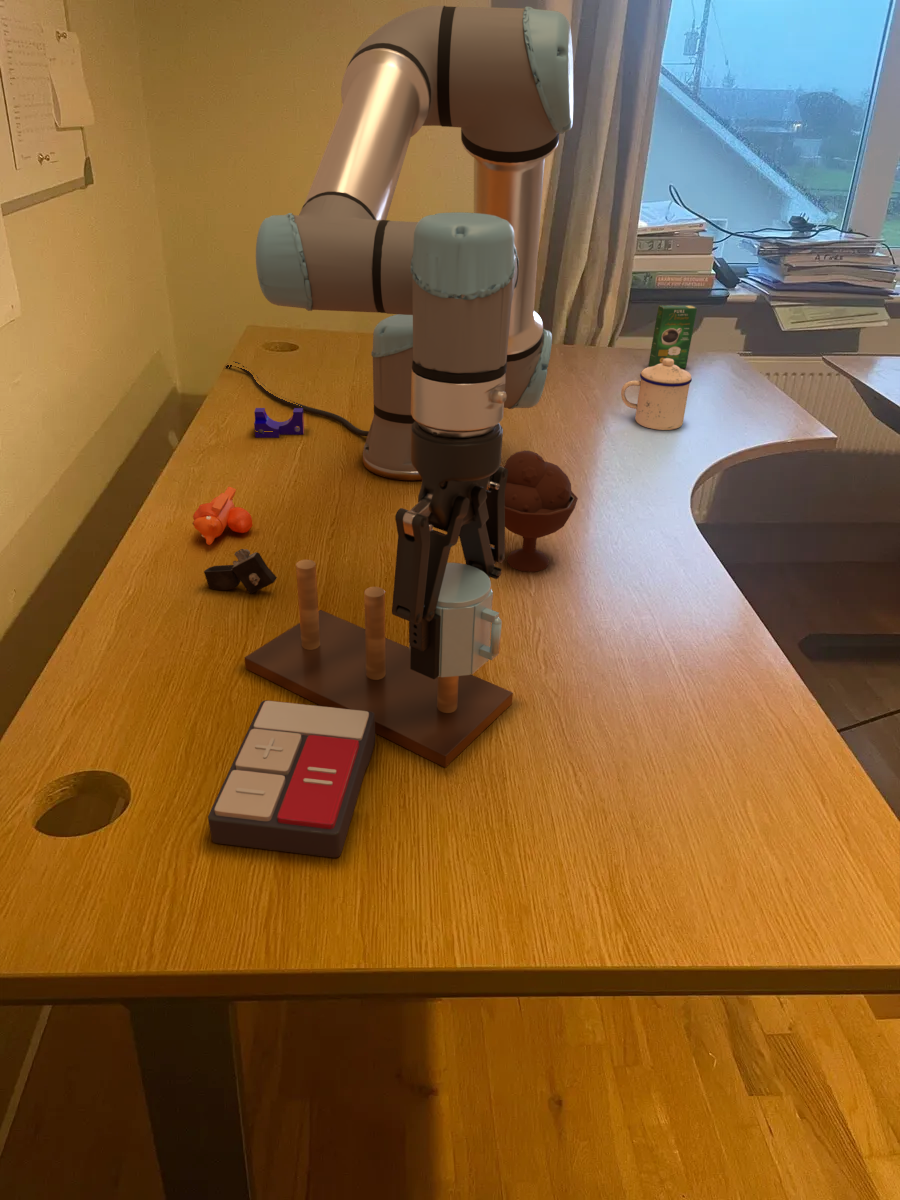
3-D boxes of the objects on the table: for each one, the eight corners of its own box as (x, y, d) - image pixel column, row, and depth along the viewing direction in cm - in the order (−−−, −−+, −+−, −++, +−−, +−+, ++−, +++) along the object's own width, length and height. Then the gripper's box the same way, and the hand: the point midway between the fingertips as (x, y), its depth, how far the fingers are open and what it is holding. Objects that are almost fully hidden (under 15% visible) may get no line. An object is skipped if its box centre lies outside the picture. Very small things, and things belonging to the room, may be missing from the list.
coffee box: (681, 365, 195) (692, 303, 188) (687, 369, 193) (698, 306, 186) (647, 366, 193) (656, 304, 186) (653, 370, 191) (662, 307, 184)
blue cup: (395, 658, 84) (395, 585, 79) (439, 625, 89) (441, 554, 85) (475, 693, 79) (480, 618, 75) (517, 656, 84) (523, 584, 80)
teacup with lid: (682, 416, 167) (692, 354, 161) (685, 433, 159) (696, 368, 153) (617, 410, 168) (625, 349, 162) (617, 427, 160) (626, 363, 154)
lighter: (221, 609, 109) (195, 576, 107) (228, 601, 111) (202, 568, 109) (271, 585, 106) (245, 550, 104) (277, 577, 107) (252, 542, 105)
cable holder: (255, 437, 151) (253, 415, 149) (257, 430, 154) (255, 407, 152) (302, 437, 152) (301, 415, 150) (304, 430, 155) (302, 408, 153)
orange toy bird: (215, 473, 124) (188, 511, 113) (267, 492, 125) (245, 531, 114) (207, 504, 126) (181, 543, 116) (258, 522, 127) (236, 562, 117)
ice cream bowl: (502, 587, 111) (510, 476, 103) (476, 546, 120) (482, 440, 112) (581, 578, 113) (595, 468, 106) (550, 538, 123) (560, 435, 115)
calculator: (204, 812, 72) (261, 692, 84) (211, 848, 74) (265, 726, 86) (337, 828, 71) (375, 704, 83) (340, 864, 73) (376, 738, 85)
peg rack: (245, 668, 95) (234, 575, 89) (320, 620, 103) (316, 532, 97) (445, 768, 82) (448, 667, 76) (512, 703, 91) (520, 608, 85)
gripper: (421, 471, 63) (418, 722, 75) (557, 399, 78) (536, 620, 90) (341, 446, 67) (350, 689, 79) (485, 382, 81) (474, 596, 93)
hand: (449, 652), depth 84 cm, fingers closed on blue cup, 7 cm apart
